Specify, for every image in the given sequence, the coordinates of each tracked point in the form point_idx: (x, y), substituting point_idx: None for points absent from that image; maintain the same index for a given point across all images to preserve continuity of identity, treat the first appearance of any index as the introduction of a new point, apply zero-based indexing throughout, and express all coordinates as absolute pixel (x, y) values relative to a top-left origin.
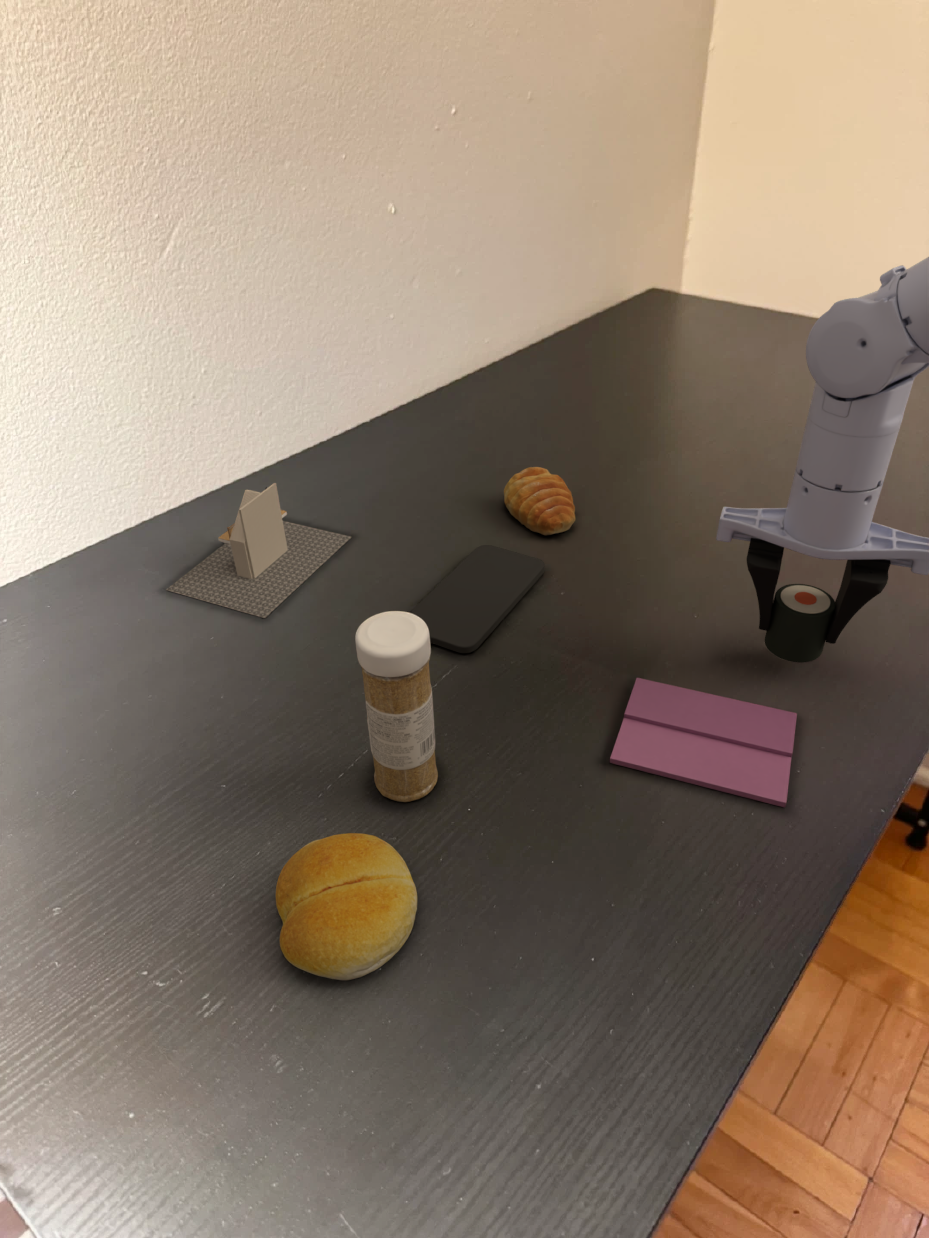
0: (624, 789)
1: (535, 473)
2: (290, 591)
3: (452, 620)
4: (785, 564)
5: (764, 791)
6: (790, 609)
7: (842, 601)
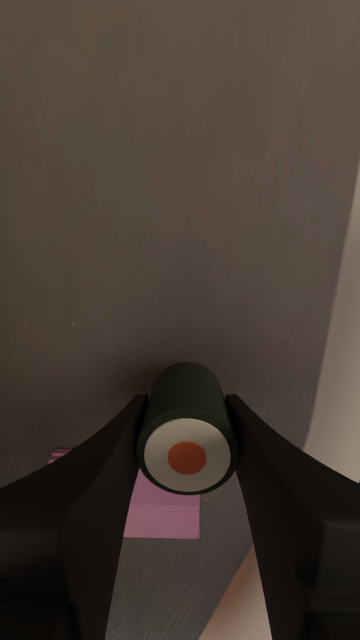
0: None
1: None
2: None
3: None
4: (161, 138)
5: (182, 535)
6: (165, 486)
7: (254, 543)
